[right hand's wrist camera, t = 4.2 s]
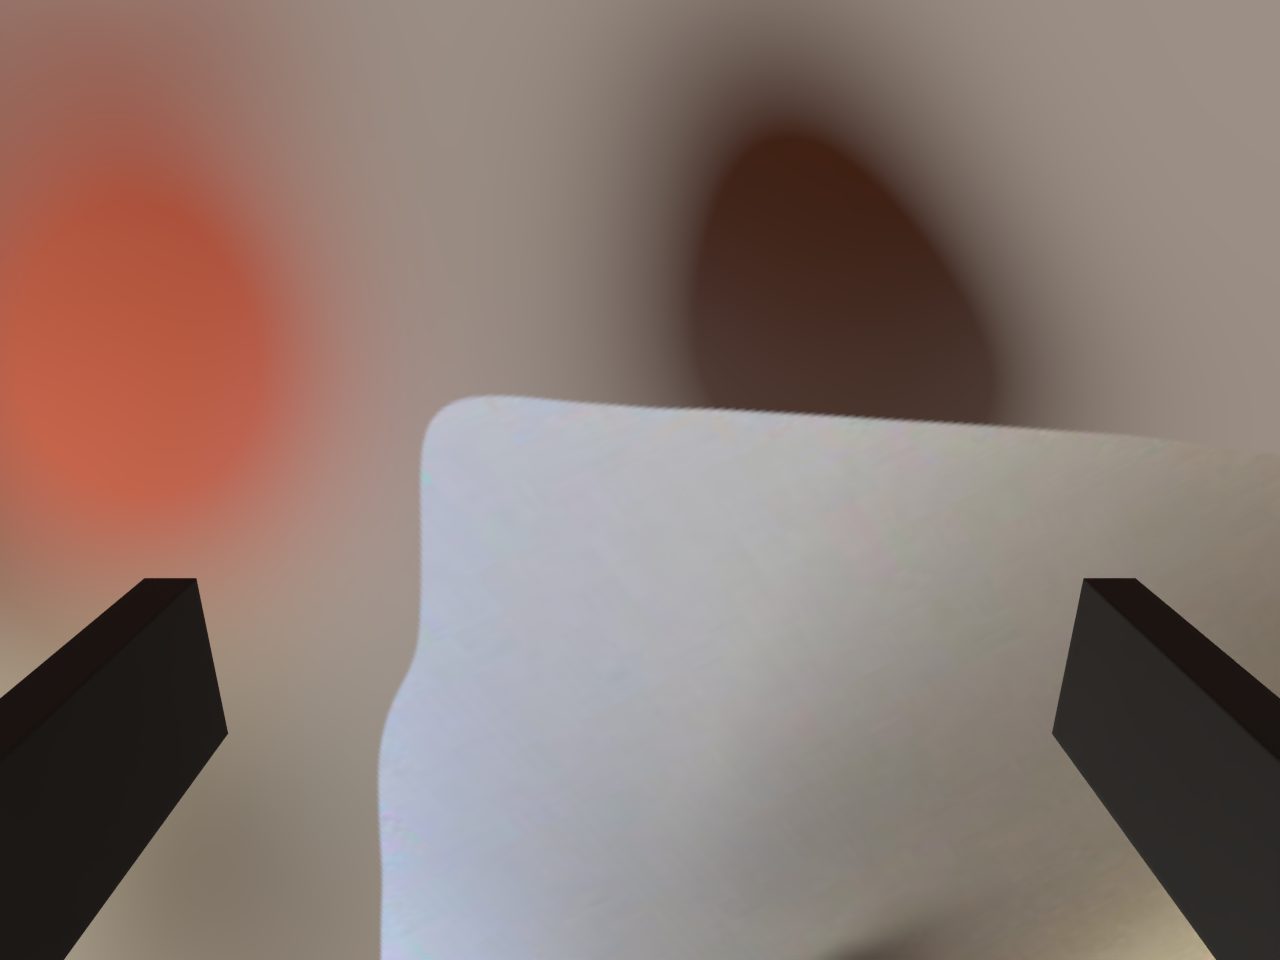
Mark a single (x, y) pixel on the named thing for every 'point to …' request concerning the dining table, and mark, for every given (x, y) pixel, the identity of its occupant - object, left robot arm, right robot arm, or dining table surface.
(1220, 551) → the dining table surface
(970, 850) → the dining table surface
